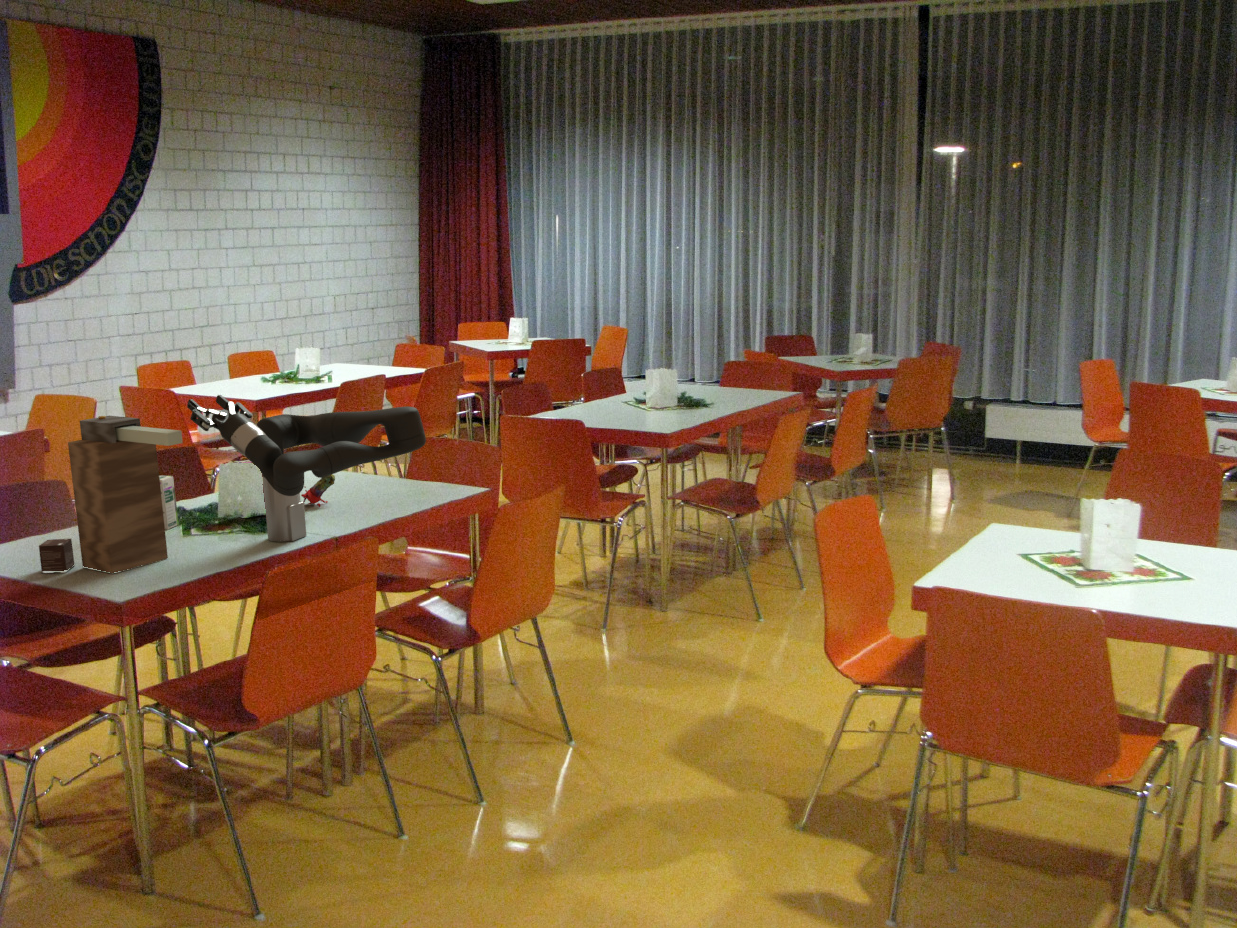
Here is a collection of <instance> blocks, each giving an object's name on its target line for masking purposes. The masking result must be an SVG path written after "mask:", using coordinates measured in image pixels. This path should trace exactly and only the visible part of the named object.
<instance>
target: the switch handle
mask: <svg viewBox="0 0 1237 928" xmlns="http://www.w3.org/2000/svg"><path fill="white" fill-rule="evenodd" d="M115 435H116V440H120V441H129V442H138V443H147V444H156V446H157V445H158V446H167V447H170V446H175V445H179V444H183V443H184V442H183V433H182V430H177V429H170V428H169V429H167V428H158V427H148V426H141V427H140V426H130V425H123V426H117V427H115Z"/></svg>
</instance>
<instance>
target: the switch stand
mask: <svg viewBox="0 0 1237 928" xmlns="http://www.w3.org/2000/svg"><path fill="white" fill-rule="evenodd" d="M123 425H130V426H140V427H142V426H141V418H139V417H128V416H118V415H106V416H105V415H100V416H98V417H94V418H93V417H92V418H87V419H81V420H79V426H80V427H79V428H80V435H81V436H80V437H81V439H80V440H79V439H78V440H73V441H68V442H67V446H68V454H69V463H70V471H71V478H72V479H71V480H72V488H73V497H74V498H73V499H74V505H75V512H76V513H75V514H76V521H77V522H76V523H77V530H78V539H79V547H80V556H81V564H82V567H83V566H84V567H88V568H93V569H97V570H101V571H106V572H110V573H114V572H118V571H123V570H126V571H128V570H127V569H130V570H132V569H131V568H133V569H135V568H134V567H137V566H140V567H142V566H141V565H144V566H146V565H145V564H147V565H150V564H153V563H152V562H154V563H156V561H157V562H160V560H161V561H164V560H168V559H169V556H168V546H167V538H166V537H167V536H166V530H165V526H164V517H163V507H162V498H161V488H160V479H159V476H160V470H159V469H160V468H159V461H158V452H157V445H156V444H147V443H138V442H129V441H120V440H116V435H115V427H117V426H123ZM167 558H168V559H167ZM163 559H164V560H163ZM149 563H150V564H149ZM137 568H138V567H137ZM123 572H124V571H123Z"/></svg>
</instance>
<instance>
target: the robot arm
mask: <svg viewBox="0 0 1237 928" xmlns="http://www.w3.org/2000/svg"><path fill="white" fill-rule="evenodd" d="M215 403H216V404H217V405H218V406H219V407H221V408H222V409H221V410H215V409H212V408H208V409H206V408H204V407H202V406H201V405H199V404H198V403H197V402H196V401H195V400H194V399H192V398H190V399H188V401H187V405H186V407H187V408H188V410H190V411H191V414H190V420H191V421H192V422H193V423H195V424H196V425H197V426H198V427H200V428H201V429H202V430H203V431H205V432H209V430H210V428H214V429H216V430H218V431H219V433H220V436H221V438H223V440H225V442H227V443H228V444H229V445H230V446H231V447H232V448H233V449H235V450H236V451H237V452H238V453H239V454H241V455H242V456H244V457H245V458H246V459H247V460H250V461H251V462H252V463H253V464H254V465H256V466H257V467H258V468H259V469H260V471H261V473H262V475H263V486H264V498H265V509H266V515H265V517H266V518H265V519H266V529H267V539H268V541H271V542H277V543H278V542H295V541H297V540H299V539H302V538H305V537H306V536H307V526H306V525H307V524H306V513H305V504H304V503H305V502H303V501H302V500H301V493H302V491H303V489H304V488H305V487H304V486H305V473H306V472H310V471H311V472H312V474H313V475H314V476H315V477H316V478H319V479H321V478H323V477H326V476H329V475H335V474H336V473H339V472H342V471H344V470H348V469H350V468H355V467H357V466H360V465H363V464H369V463H374V462H378V461H382V460H386V459H390V458H394V457H398V456H402V455H407V454H409V453H412V452H415V451H418V450H419V449H422V448H423V447H424V446H425V445H426V443H427V437H426V433H425V429H424V425H423V420H422V418H421V414H420V412H419V410H418V409H417V408H416V407H414V406H397V407H391V408H389V407H388V408H383V409H375V410H364V411H359V410H358V411H334V412H333V411H332V412H327V413H326V412H324V413H319V414H316V415H300V414H299V415H298V414H288V413H287V414H286V413H285V414H284V413H283V414H277V415H272V416H268V417H264V418H262V419H259V421H257V423H256V424H255V423H254V422H253V421H252V417H253V413H252V412H251V411H249V409H248V408H246V407H245V406H244V405H243V404H242V403H241V402H238V401H237V402H236V403H234V402H233V401H230V400H228V399H227V398H226V397H224V396H223V395H221V394H217V395H216V398H215ZM204 414H205V415H204ZM211 415H212V416H211ZM210 416H211V419H210ZM379 425H381V426H383V428H384V430H385V434H386V438H387V442H388V444H384V445H379V446H373V445H366V444H363V443H361V442H362V441H363V440H364V439H365V438H366V437H367V435H368V434H369V433H370V432H372V430H374V429H375V428H376V427H377V426H379ZM309 444H311V445H312V444H317V445H320V446H321V447H318V448H316V449H306V450H296V451H295V450H294V451H288V452H285V451H284V450H287V449H291V448H294V447H298V446H303V445H309Z"/></svg>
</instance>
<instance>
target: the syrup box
mask: <svg viewBox="0 0 1237 928" xmlns="http://www.w3.org/2000/svg"><path fill="white" fill-rule="evenodd" d="M159 479H160V488H161V498H162V507H163V517H164V526H165V531H168V530H170V529H173V528H175V527H176V526H179V515H178V508H177V506H178V505H177V498H176V491H175V480H174V476H173V475H159Z"/></svg>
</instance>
